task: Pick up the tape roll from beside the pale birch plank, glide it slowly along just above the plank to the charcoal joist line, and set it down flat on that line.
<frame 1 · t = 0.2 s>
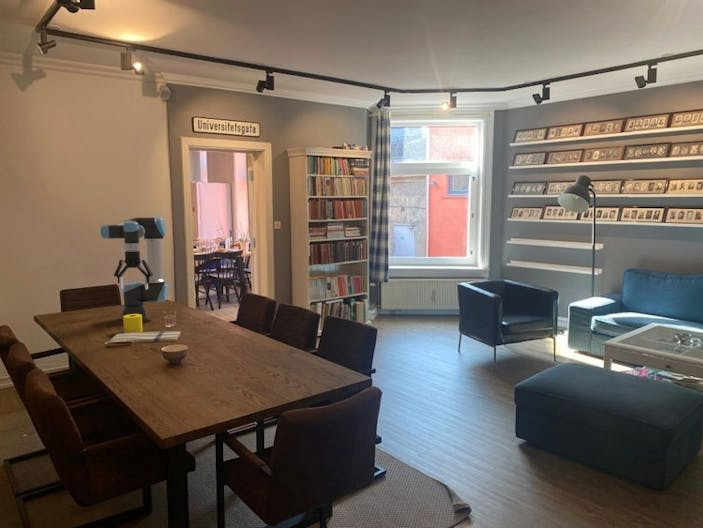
hand: (134, 289, 288), 27 cm above the table, fingers open, 13 cm apart
tape roll: (133, 332, 304), on the table
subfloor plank: (146, 338, 289), on the table
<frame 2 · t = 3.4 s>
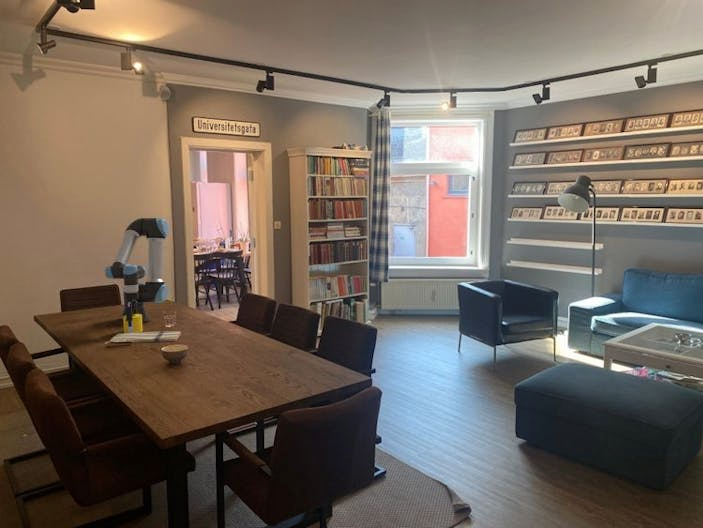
hand: (133, 329, 303), 1 cm above the table, fingers closed on tape roll, 10 cm apart
tape roll: (133, 332, 304), on the table, touching gripper
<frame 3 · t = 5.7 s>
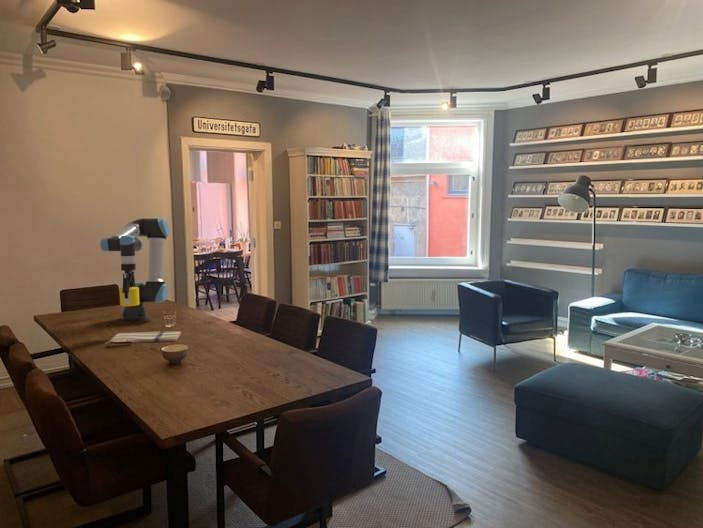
hand: (129, 302, 295), 19 cm above the table, fingers closed on tape roll, 10 cm apart
tape roll: (129, 305, 295), point 17 cm above the table, touching gripper
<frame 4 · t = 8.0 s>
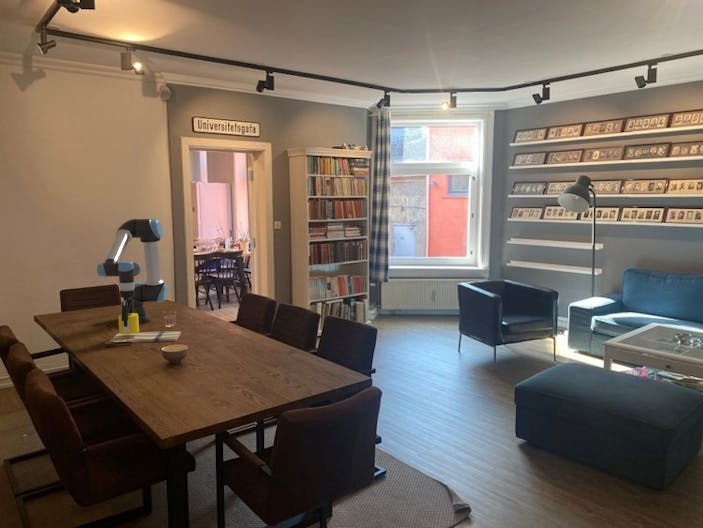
hand: (129, 329, 288), 5 cm above the table, fingers closed on tape roll, 10 cm apart
tape roll: (129, 332, 288), point 4 cm above the table, touching gripper
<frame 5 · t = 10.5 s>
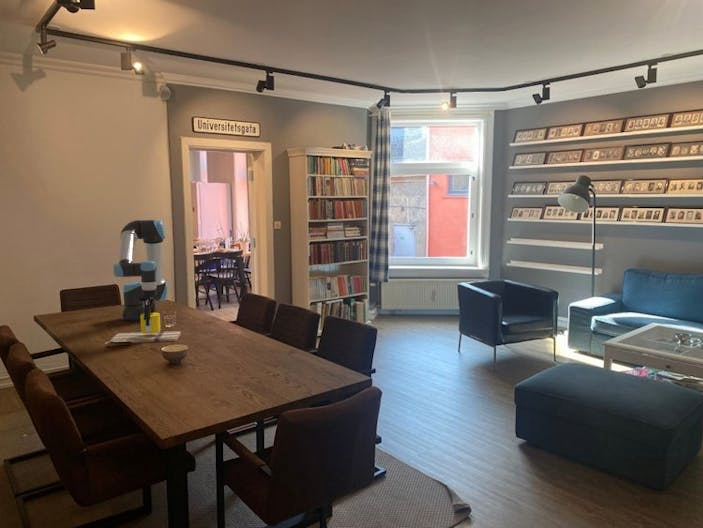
hand: (150, 328, 289), 5 cm above the table, fingers closed on tape roll, 10 cm apart
tape roll: (150, 331, 289), point 4 cm above the table, touching gripper
when the fingers open (4 cm above the table, at t = 12.7 s): tape roll drops 1 cm, resting on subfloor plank.
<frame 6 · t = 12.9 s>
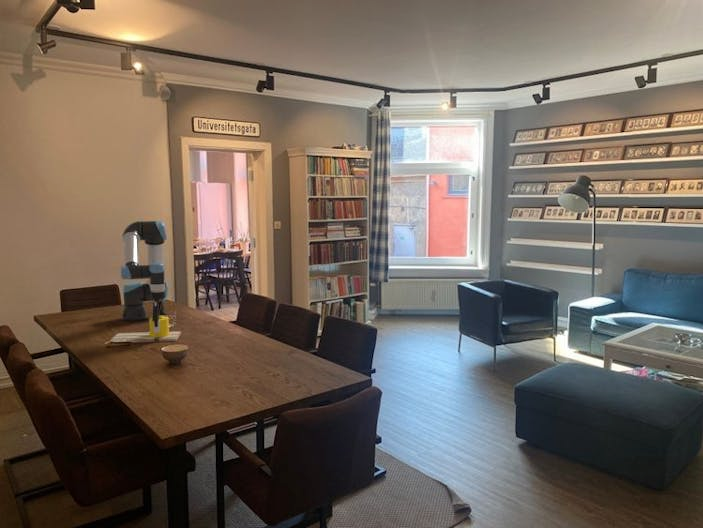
hand: (159, 329, 290), 5 cm above the table, fingers open, 12 cm apart
tape roll: (159, 335, 290), point 1 cm above the table, touching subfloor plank
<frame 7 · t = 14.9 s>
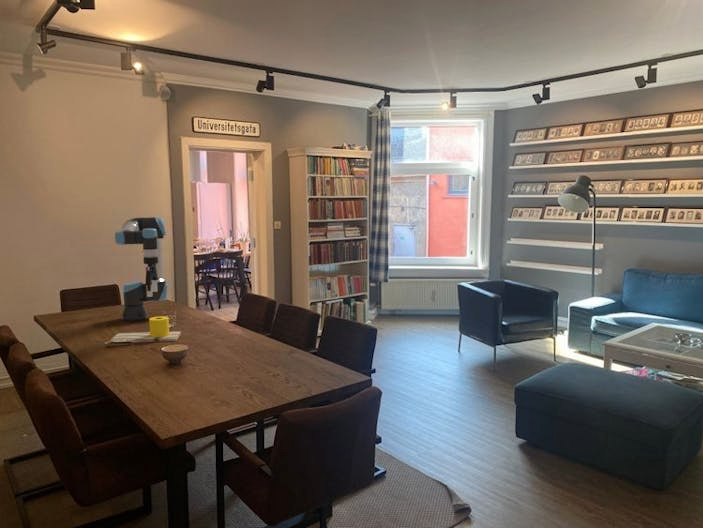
hand: (152, 294, 293), 24 cm above the table, fingers open, 13 cm apart
nothing on the table moved.
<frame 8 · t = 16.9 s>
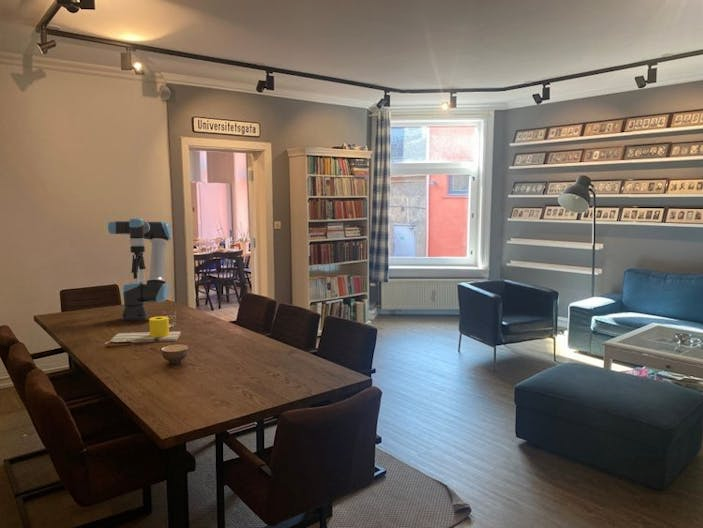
hand: (139, 282, 303), 29 cm above the table, fingers open, 13 cm apart
nothing on the table moved.
at the end: tape roll inside the target area on the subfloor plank (0.1 cm from its centre), point 1.4 cm above the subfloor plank's base; tape roll tilted 0°; the gripper is holding nothing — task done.
